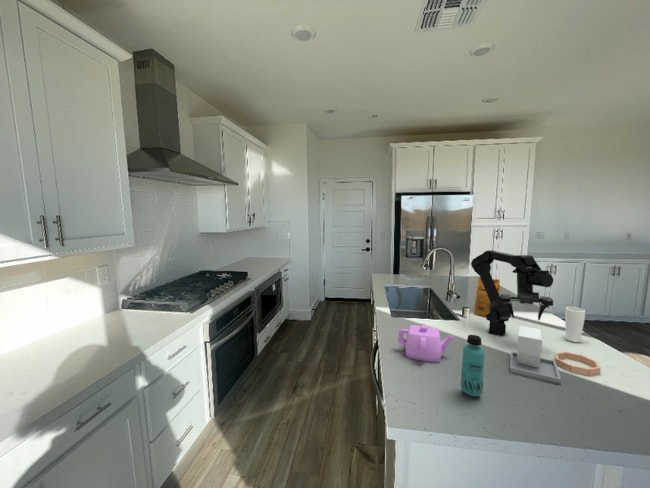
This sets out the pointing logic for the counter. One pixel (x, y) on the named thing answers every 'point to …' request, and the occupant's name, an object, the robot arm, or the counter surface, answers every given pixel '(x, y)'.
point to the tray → (536, 369)
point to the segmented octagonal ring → (576, 369)
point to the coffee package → (483, 298)
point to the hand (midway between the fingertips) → (525, 319)
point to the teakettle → (423, 343)
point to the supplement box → (529, 346)
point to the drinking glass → (574, 323)
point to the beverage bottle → (472, 366)
